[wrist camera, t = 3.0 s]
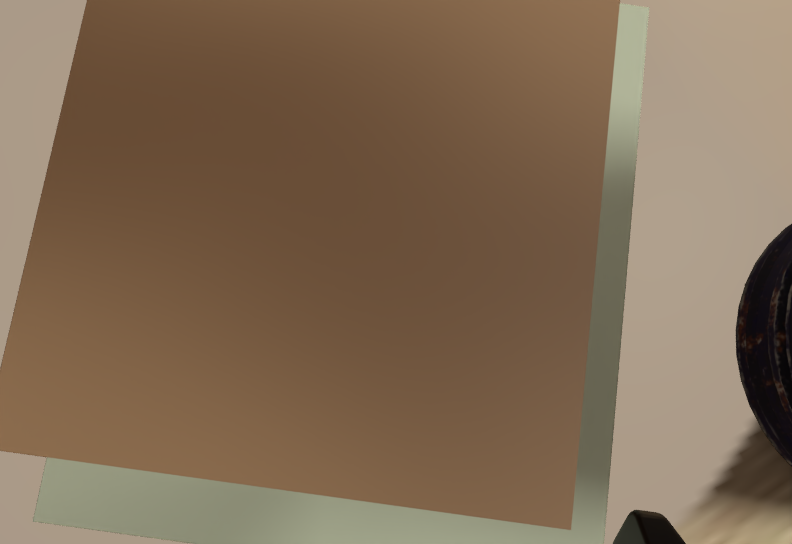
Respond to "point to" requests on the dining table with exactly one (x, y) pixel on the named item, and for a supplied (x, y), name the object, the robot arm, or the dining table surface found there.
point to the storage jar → (769, 342)
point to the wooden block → (322, 249)
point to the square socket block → (379, 523)
